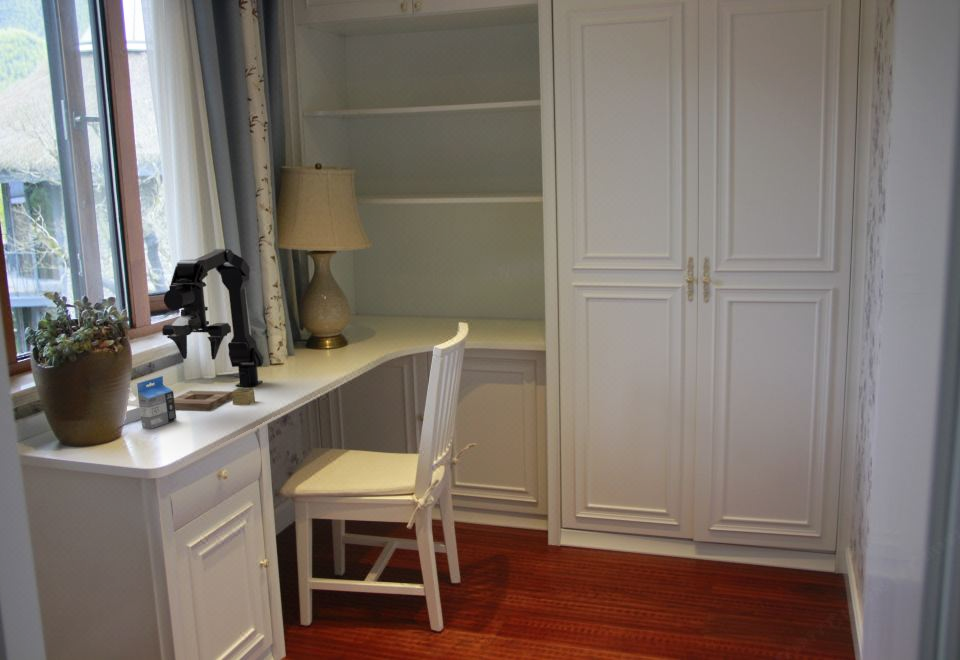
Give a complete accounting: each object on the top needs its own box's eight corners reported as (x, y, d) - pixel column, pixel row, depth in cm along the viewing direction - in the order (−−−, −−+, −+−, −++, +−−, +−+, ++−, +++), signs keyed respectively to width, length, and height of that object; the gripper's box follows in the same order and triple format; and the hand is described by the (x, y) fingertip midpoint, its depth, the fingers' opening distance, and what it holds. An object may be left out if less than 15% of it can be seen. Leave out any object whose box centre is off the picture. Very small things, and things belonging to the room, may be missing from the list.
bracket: (132, 414, 246) (129, 388, 244) (149, 416, 242) (146, 390, 241) (92, 426, 235) (89, 399, 233) (110, 429, 231) (107, 402, 230)
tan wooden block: (239, 401, 255) (238, 388, 255) (254, 401, 254) (253, 388, 254) (232, 404, 252) (231, 391, 251) (248, 405, 250) (247, 391, 250)
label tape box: (151, 429, 229) (147, 384, 227) (141, 427, 231) (136, 383, 228) (177, 420, 237) (172, 376, 234) (166, 419, 238) (162, 375, 236)
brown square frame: (191, 396, 262) (190, 390, 262) (233, 397, 259) (232, 391, 259) (165, 409, 249) (164, 402, 248) (209, 410, 246) (208, 403, 245)
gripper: (147, 309, 237) (153, 364, 240) (208, 309, 233) (213, 366, 235) (171, 302, 248) (176, 356, 251) (229, 303, 243) (234, 357, 246)
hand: (199, 359), depth 245 cm, fingers open, 9 cm apart
